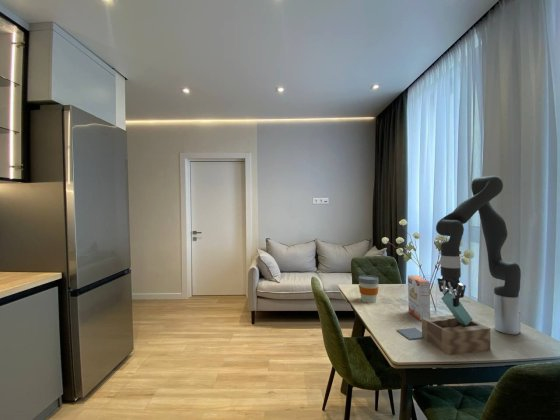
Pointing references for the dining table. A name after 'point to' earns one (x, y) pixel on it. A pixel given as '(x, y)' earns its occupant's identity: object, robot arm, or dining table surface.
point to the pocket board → (455, 335)
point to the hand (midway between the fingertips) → (451, 304)
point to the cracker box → (419, 296)
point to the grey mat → (411, 333)
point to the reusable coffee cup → (368, 288)
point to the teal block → (457, 310)
